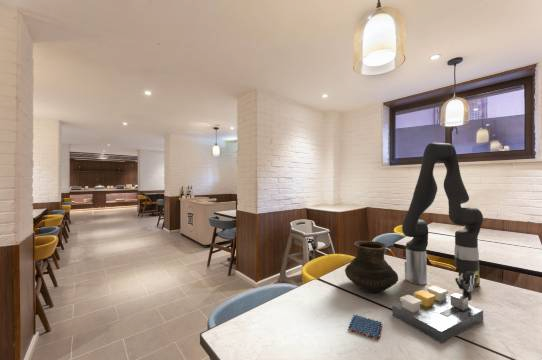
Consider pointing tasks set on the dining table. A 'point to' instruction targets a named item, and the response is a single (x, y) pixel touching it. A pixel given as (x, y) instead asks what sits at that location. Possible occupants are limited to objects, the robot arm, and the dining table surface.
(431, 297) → the button mid
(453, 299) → the brushed metal cube
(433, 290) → the button right
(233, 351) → the dining table surface
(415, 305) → the button left
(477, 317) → the panel
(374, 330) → the woven mat
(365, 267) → the ceramic pot
